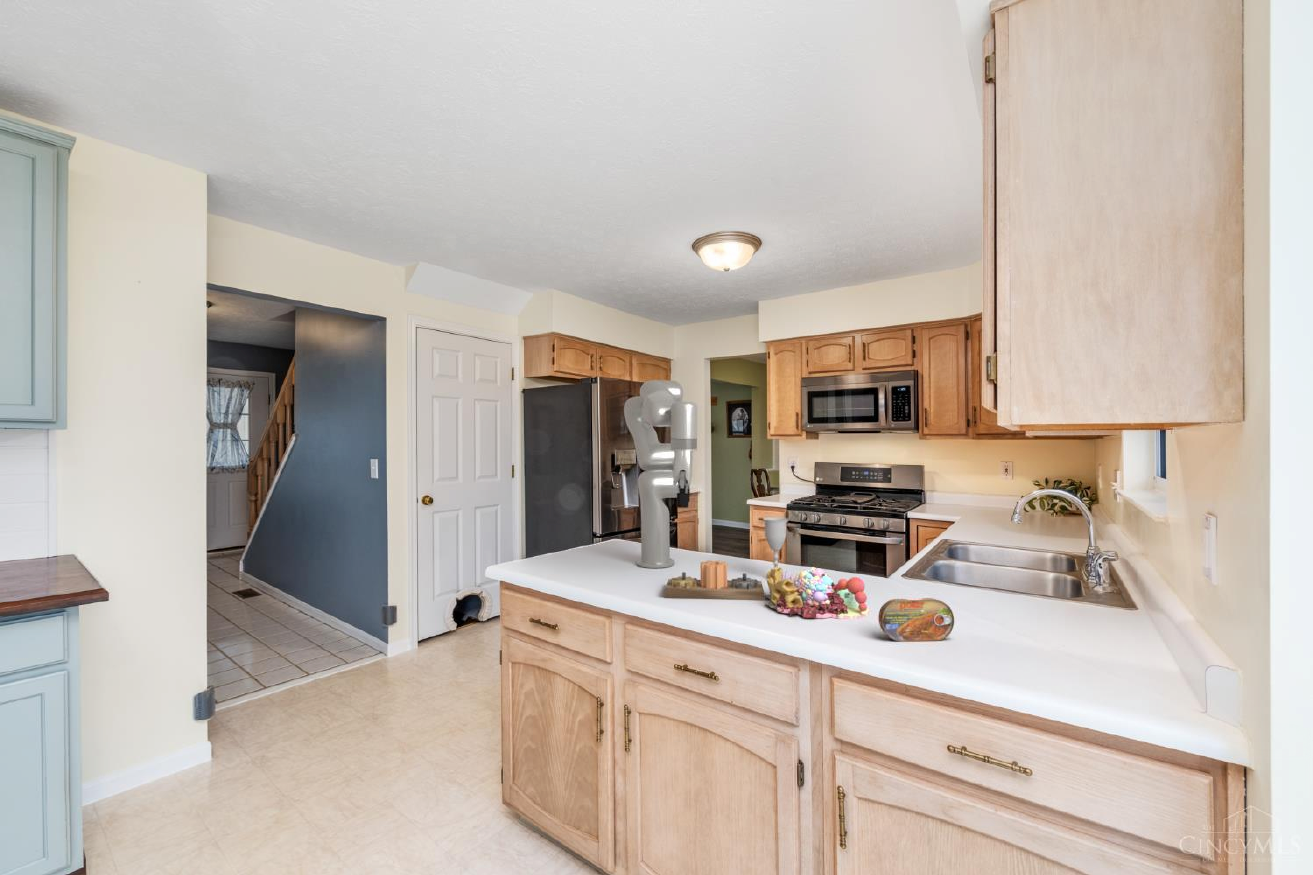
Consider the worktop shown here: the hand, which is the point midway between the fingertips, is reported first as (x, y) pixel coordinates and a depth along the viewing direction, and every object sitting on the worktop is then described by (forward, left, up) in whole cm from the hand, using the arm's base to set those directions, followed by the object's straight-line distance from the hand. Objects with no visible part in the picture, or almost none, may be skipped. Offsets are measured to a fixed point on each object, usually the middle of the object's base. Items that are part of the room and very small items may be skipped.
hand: (683, 504), depth 163 cm
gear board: (+7, +9, -23) cm, 26 cm away
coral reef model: (+17, +34, -24) cm, 45 cm away
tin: (+40, +51, -23) cm, 68 cm away
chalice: (-8, +27, -23) cm, 36 cm away
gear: (+7, +9, -21) cm, 24 cm away
